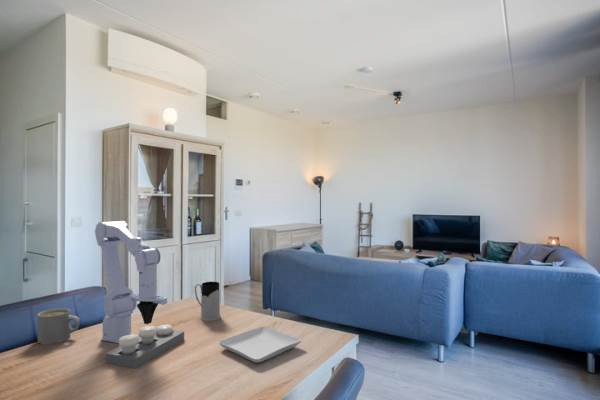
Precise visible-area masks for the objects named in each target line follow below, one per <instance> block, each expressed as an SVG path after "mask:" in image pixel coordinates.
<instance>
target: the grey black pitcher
mask: <svg viewBox="0 0 600 400" xmlns="http://www.w3.org/2000/svg"><path fill="white" fill-rule="evenodd" d="M197 286H199V287H200V293H201V296H200V297H201V302H200V300H199V298H198V293H197ZM194 294H195V299H196V301H197V302H198V304H199V306H200V307H201V308H200V309H201V310H200V313H201V315H200V318H199V320H200V321H204V322H214V321H218V320H220V319H221V317H222V316H221V313H220V312H221V311H220V309H221V308H220V307H221V306H220V305H221V304H220V303H221V302H220V300H221V299H220V298H221V295H220V282H219V281H205V282H202V283H201V284H200V283H197V284H196V285H195V286H194Z"/></svg>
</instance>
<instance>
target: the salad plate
mask: <svg viewBox="0 0 600 400" xmlns="http://www.w3.org/2000/svg"><path fill="white" fill-rule="evenodd" d="M301 342H302V339H301V338H297V337H295V336H293V335H290V334H287V333H284V332H281V331H279V330H275V329H272V328H270V327H266V326H259V327H257V328H253V329H249V330H246V331H244V332H241V333H239V334H235V335H232V336H229V337H227V338H225V339H222V340H220V341H218V344H219V345H220V346H221V347H222V348H224V349H226V350H227V351H229V352H233V353H235V354H237V355H239V356H241V357H243V358H244V359H245V358H246V359H247V360H249V361H251V362H253V363H261V362H264V361H267V360H269V359H271V358H274V357H276V356H278V355H280V354H283V353H284V351H285V352H286V350H287V351H288V350H291V349H293V348H295V347H297V346H299V345H300V343H301ZM282 352H283V353H282Z"/></svg>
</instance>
